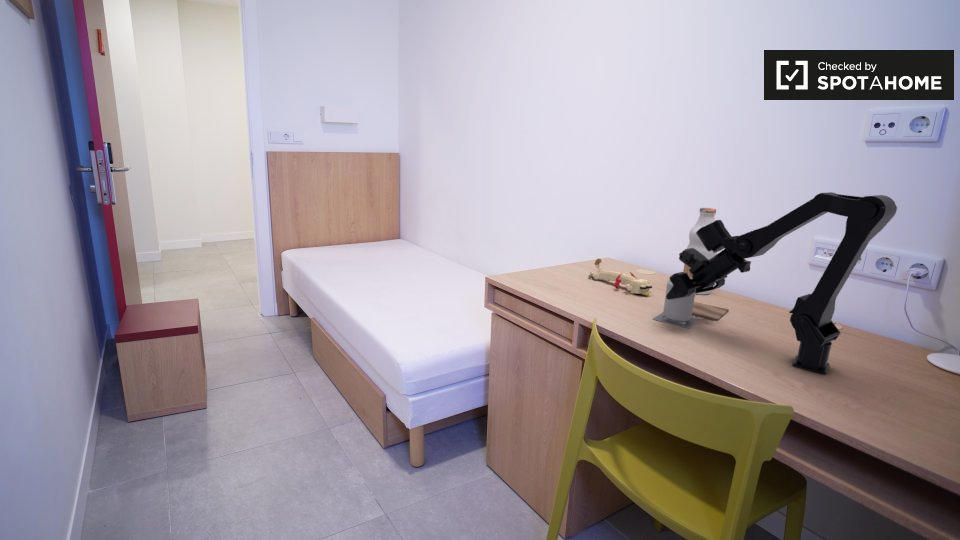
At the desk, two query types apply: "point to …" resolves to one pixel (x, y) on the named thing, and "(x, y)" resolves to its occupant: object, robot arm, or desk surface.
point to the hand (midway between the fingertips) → (675, 295)
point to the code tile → (685, 325)
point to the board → (708, 311)
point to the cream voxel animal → (622, 280)
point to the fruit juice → (695, 242)
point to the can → (678, 307)
